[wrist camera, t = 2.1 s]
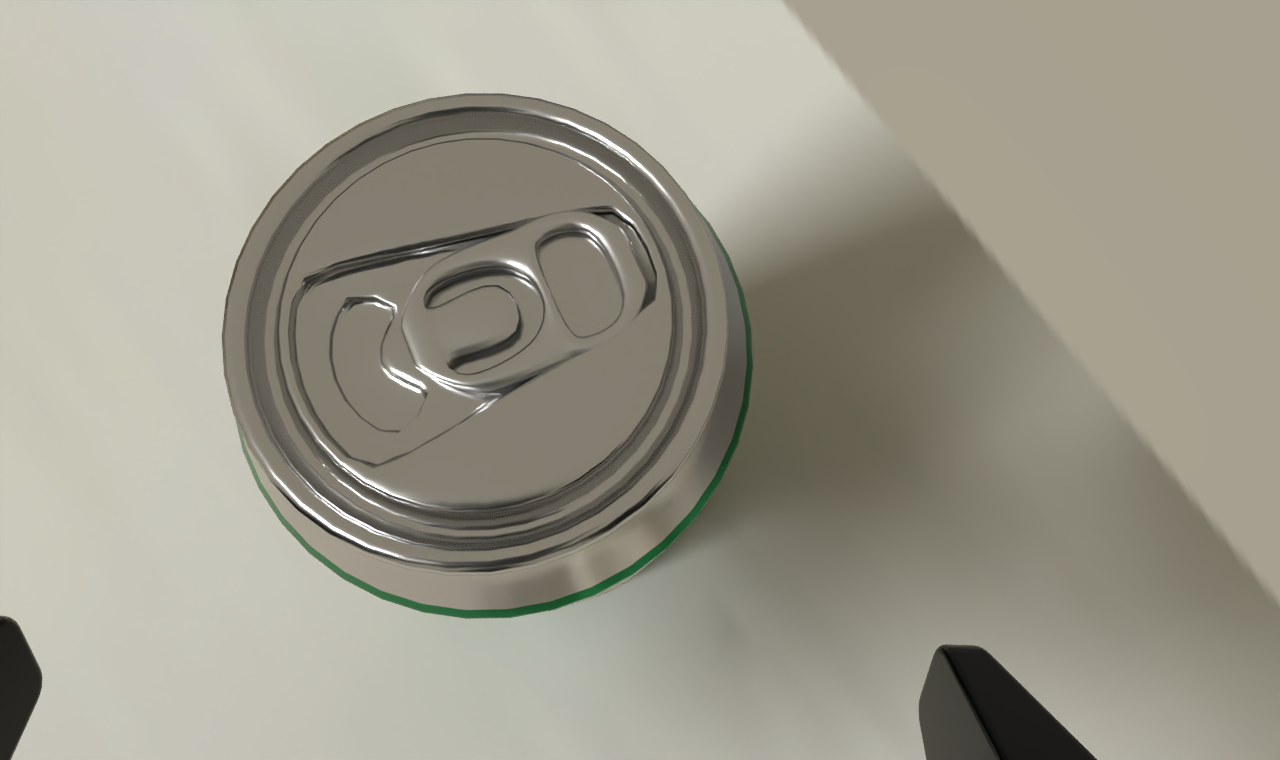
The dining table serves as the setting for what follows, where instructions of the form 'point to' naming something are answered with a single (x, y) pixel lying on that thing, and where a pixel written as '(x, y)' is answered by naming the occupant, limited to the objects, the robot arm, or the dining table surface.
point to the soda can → (485, 356)
